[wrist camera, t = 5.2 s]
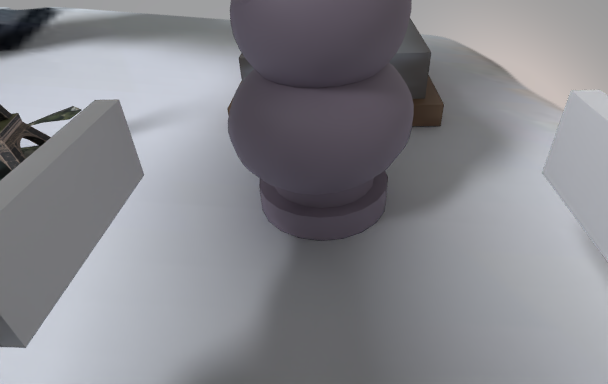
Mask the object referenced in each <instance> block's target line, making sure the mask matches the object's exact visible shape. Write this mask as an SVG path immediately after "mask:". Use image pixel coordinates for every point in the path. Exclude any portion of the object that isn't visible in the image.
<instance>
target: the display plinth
mask: <svg viewBox="0 0 608 384" xmlns="http://www.w3.org/2000/svg"><path fill="white" fill-rule="evenodd" d="M430 57H431V51H430V50H429V48H428V46H427V45H426V43H425V42H424V40H423V38H422V37H421V35H420V34H419V32H418V30H417V29H416V27H415V25H414V24H413V22H412V20H411V19H409V24H408V27H407V31H406V34H405V36H404V39H403V42H402V44H401V46H400V47H399V49H398V51H397V53H396V54H395V55H394V57H393V58H392V59H391V60H390V62H389V63H390V64H392V65H393V66H394V67H395V68H396V70H397V71H398V72H399V74H400V75H401V76H402V78H403V80H404V81H405V83H406V84H407V86H408V88H409V90H410V93H411V95H412V100H413V104H414V115H413V122H412V126H440V125H441V119H442V113H443V107H444V104H443V102H442V100H441V98H440V96H439V94H438V92H437V90H436V88H435V86H434V85H433V83H432V81H431V79H430V77H429V75H428V72H429V65H430ZM239 63H240V70H241V77H242V81H243V80H244V79H245V78H246V77H247V76H248V75H249V74H250V72H251V71H252V70H254V68H253V67H252V66H251V65H250V63H249V62H248V61H247V60H246V58H245V57H244V55H243V54H241V55H240V57H239ZM242 81H241V83H242ZM241 83H240V84H241ZM239 86H240V85H239ZM233 98H234V97H233ZM232 101H233V99H232ZM232 101H231V103H230V105H229V107H228V115H229V112H230V108H231V104H232Z"/></svg>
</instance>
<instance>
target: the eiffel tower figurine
mask: <svg viewBox="0 0 608 384" xmlns="http://www.w3.org/2000/svg"><path fill="white" fill-rule="evenodd" d="M80 111H81V109H79V108H76V107H74V106H72V107H69V108H67V109H64V110H61V111H59V112H56V113H53V114H51V115H49V116H46V117H44V118H41V119H39V120H37V121H34V122H32V123H29V124H25V123H24V122H22V120H21V118H20V116H19V114H18V113H15V114H11V113H9V112H8V111H7V110H6V109H5V108H3V107H2V106H1V105H0V180H2V179H3V178H4V177H5V176H6V175H7V174H9V173H10V172H11V171H12V170H13V169H15V168H16V167H17V166H18V165H19V164H20V163H22V162H23V161H24V160H25V159H26V158H27V157H29V156H30V155H31V154H32V153H33V152H35V151H36V150H37V149H38V148H39V147H40V146H42V145H43V144H44V143H45V142H46V141H47V140H49V139H50V138H51V137H49V136H48V135H46V134H44V133H42V132H40V131H38V130H37V129H35V128H33V127H31V126H32V125H35V124H39V123H43V122H51V121H59V120H68V119H71V118H72V117H73V116H75V115H76V114H77V113H79V112H80ZM22 138H25V139H28V140H30V141H32V142H34V143H36V144H37V145H39V146H32V147H24V148H20V141H21V139H22Z"/></svg>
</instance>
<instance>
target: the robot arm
mask: <svg viewBox="0 0 608 384" xmlns="http://www.w3.org/2000/svg"><path fill="white" fill-rule="evenodd" d="M542 174H543V175H544V176H545V178H546V179H547V181H548V182H549V183H550V185H551V186H552V187H553V189H554V190H555V191H556V193H557V194H558V195H559V197H560V198H561V200H562V201H563V202H564V204H565V205H566V206H567V208H568V209H569V210H570V212H571V213H572V214H573V216H574V217H575V218H576V220H577V221H578V223H579V224H580V225H581V227H582V228H583V229H584V231H585V232H586V233H587V235H588V236H589V237H590V239H591V240H592V242H593V243H594V244H595V246H596V247H597V248H598V250H599V251H600V252H601V254H602V255H603V256H604V258H605V259H606V261H607V262H608V95H606V94H605V93H604V92H602V91H601V90H571V92H570V95H569V98H568V100H567V103H566V106H565V109H564V112H563V114H562V117H561V120H560V123H559V126H558V129H557V131H556V134H555V137H554V140H553V143H552V146H551V149H550V151H549V154H548V157H547V160H546V163H545V166H544V168H543V171H542ZM143 176H144V173H143V170H142V167H141V164H140V161H139V158H138V155H137V152H136V149H135V146H134V143H133V140H132V137H131V134H130V131H129V128H128V125H127V122H126V119H125V116H124V113H123V110H122V107H121V104H120V101H119V100H94V101H93V102H92V103H91V104H90V105H89V106H87V107H86V108H85V109H84V110H83V111H82V112H80V113H79V114H78V115H77V116H76V117H74V118H73V119H72V120H71V121H70V122H69V123H67V124H66V125H65V126H64V127H63V128H62V129H60V130H59V131H58V132H57V133H56V134H55V135H53V136H52V137H51V138H50V139H49V140H47V141H46V142H45V143H44V144H43V145H42V146H40V147H39V148H38V149H37V150H36V151H35V152H33V153H32V154H31V155H30V156H29V157H27V158H26V159H25V160H24V161H23V162H22V163H20V164H19V165H18V166H17V167H16V168H15V169H13V170H12V171H11V172H10V173H9V174H7V175H6V176H5V177H4V178H3V179H2V180H0V347H19V348H26V347H27V345H28V344H29V342H30V341H31V339H32V338H33V336H34V335H35V333H36V332H37V331H38V329H39V328H40V326H41V325H42V323H43V322H44V320H45V319H46V317H47V316H48V315H49V313H50V312H51V310H52V309H53V307H54V306H55V304H56V303H57V301H58V300H59V298H60V297H61V296H62V294H63V293H64V291H65V290H66V288H67V287H68V285H69V284H70V282H71V281H72V280H73V278H74V277H75V275H76V274H77V272H78V271H79V269H80V268H81V266H82V265H83V263H84V262H85V261H86V259H87V258H88V256H89V255H90V253H91V252H92V250H93V249H94V247H95V246H96V245H97V243H98V242H99V240H100V239H101V237H102V236H103V234H104V233H105V231H106V230H107V228H108V227H109V226H110V224H111V223H112V221H113V220H114V218H115V217H116V215H117V214H118V212H119V211H120V210H121V208H122V207H123V205H124V204H125V202H126V201H127V199H128V198H129V196H130V195H131V193H132V192H133V191H134V189H135V188H136V186H137V185H138V183H139V182H140V180H141V179H142V177H143Z"/></svg>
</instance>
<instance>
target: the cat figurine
mask: <svg viewBox="0 0 608 384" xmlns="http://www.w3.org/2000/svg"><path fill="white" fill-rule="evenodd" d="M410 13H411V0H231V5H230V19H231V27H232V31H233V35H234V38H235V40H236V43H237V45H238V47H239V49H240V51H241V52H242V54H243V55H244V57H245V58H246V60H247V61H248V62H249V63H250V65H251V66H252V67H253V68H254V70H252V71H251V72H250V74H249V75H248V76H247V77H246V78H245V79H244V80H243V81H242V83H241V84H240V86H239V87H238V89H237V90H236V93H235V95H234V98H233V101H232V104H231V108H230V112H229V118H228V133H229V136H230V139H231V142H232V144H233V147H234V149H235V151H236V153H237V155H238V157H239V158H240V160H241V162H242V164H243V165H244V166H245V167H246V168H247V169H248V170H249V171H251V172H252V173H253V174H255V175H256V176H258V177H259V178H260V195H261V202H262V209H263V211H264V213H265V215H266V217H267V219H268V221H269V222H271V223H272V224H273V225H274V226H276V227H277V228H278V229H280V230H281V231H283V232H286V233H288V234H291V235H293V236H296V237H299V238H305V239H313V240H331V239H342V238H345V237H348V236H352V235H355V234H358V233H361V232H363V231H364V230H366V229H367V228H369V227H370V226H372V225H373V224H375V223H376V222H377V221H378V219H379V218H380V216H381V215H382V214H383V212H384V210H385V202H386V193H387V181H388V177H387V174H386V172H385V170H386V169H387V168H388V167H389V166H390V164H391V163H392V162H393V161H394V160H395V158H396V157H397V156H398V155H399V154H400V152H401V151H402V150H403V149H404V147H405V146H406V143H407V141H408V139H409V137H410V133H411V128H412V122H413V115H414V104H413V100H412V95H411V93H410V90H409V88H408V86H407V84H406V83H405V81H404V80H403V78H402V76H401V75H400V74H399V72H398V71H397V70H396V68H395V67H394V66H393V65H392V64H390V63H389V62H390V60H391V59H392V58H393V57H394V55H395V54H396V53H397V51H398V49H399V47H400V46H401V44H402V42H403V39H404V36H405V34H406V31H407V27H408V24H409V19H410Z"/></svg>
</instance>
